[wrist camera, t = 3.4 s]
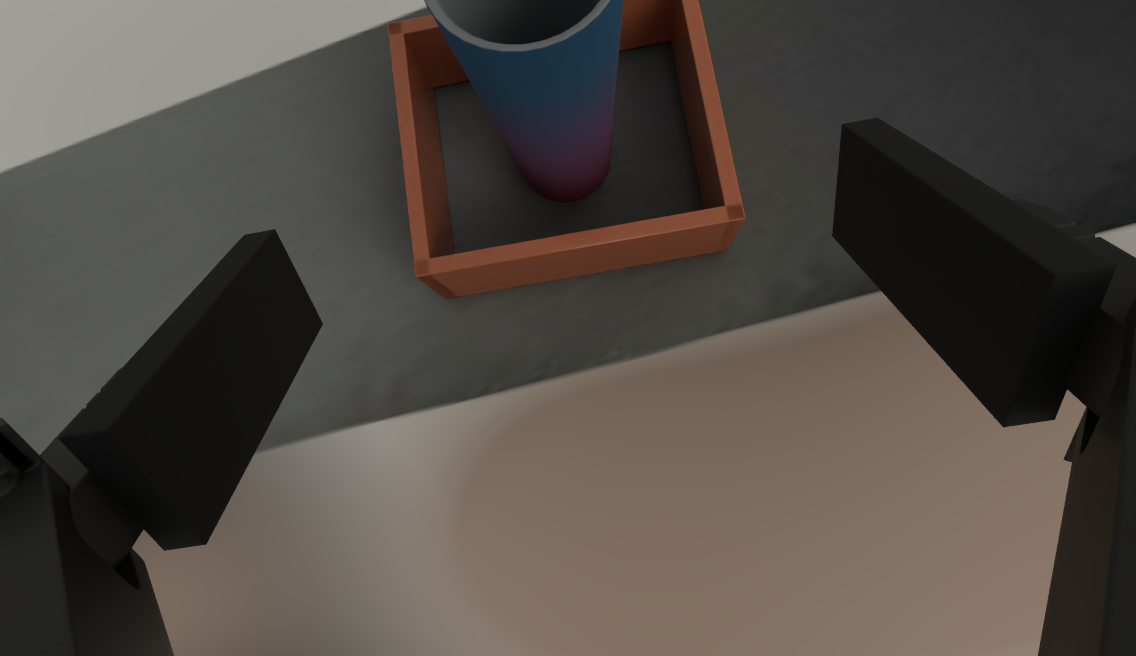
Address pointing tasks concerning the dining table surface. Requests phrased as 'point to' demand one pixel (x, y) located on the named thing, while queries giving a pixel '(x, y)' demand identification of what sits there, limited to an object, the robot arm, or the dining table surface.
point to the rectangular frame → (424, 61)
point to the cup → (543, 82)
